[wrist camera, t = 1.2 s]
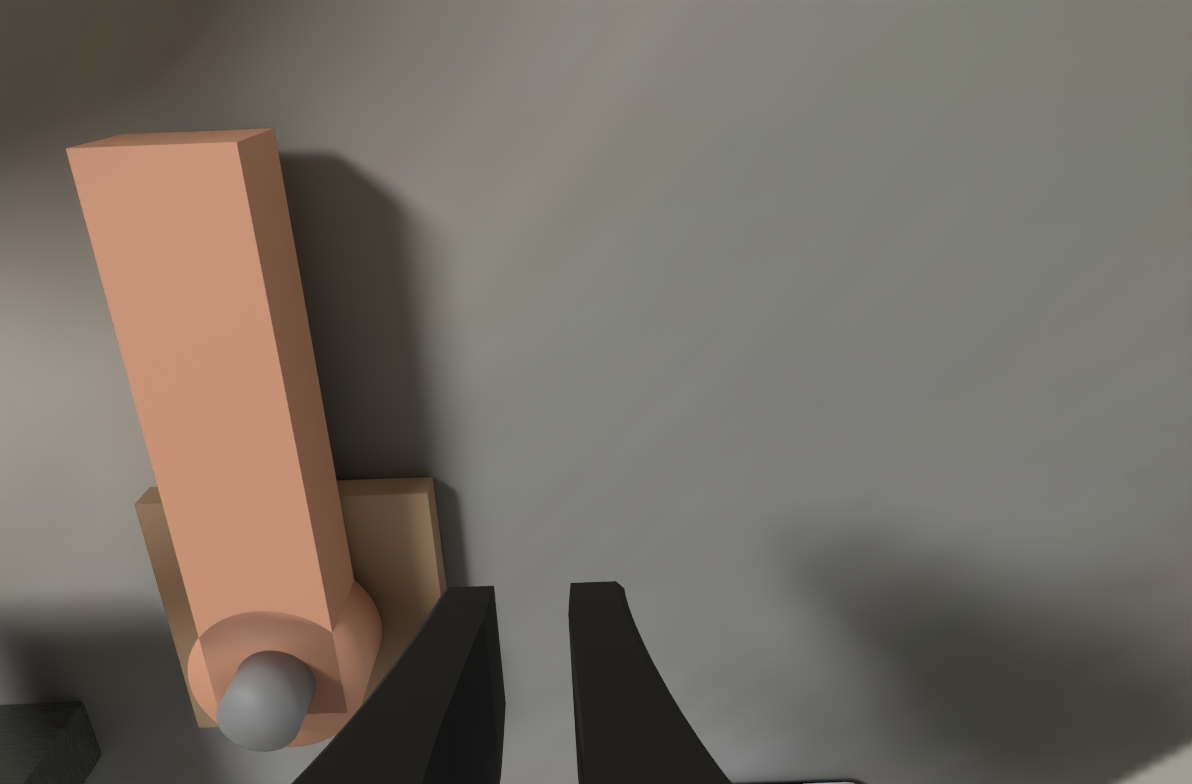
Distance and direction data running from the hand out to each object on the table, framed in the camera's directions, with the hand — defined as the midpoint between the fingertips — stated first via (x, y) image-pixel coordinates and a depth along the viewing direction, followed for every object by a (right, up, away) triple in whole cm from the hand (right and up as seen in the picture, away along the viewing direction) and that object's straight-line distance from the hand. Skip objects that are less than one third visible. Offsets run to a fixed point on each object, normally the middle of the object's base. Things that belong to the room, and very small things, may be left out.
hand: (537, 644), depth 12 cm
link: (-7, +2, +8) cm, 11 cm away
